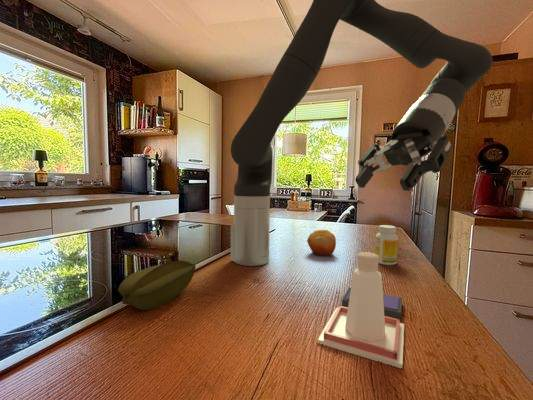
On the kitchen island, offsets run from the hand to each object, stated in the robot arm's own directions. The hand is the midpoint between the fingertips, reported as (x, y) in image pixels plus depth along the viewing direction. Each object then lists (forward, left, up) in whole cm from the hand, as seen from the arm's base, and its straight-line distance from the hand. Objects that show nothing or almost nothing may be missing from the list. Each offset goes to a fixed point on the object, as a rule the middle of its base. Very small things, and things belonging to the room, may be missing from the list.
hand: (379, 185), depth 45 cm
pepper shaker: (0, -10, -20) cm, 23 cm away
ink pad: (0, 0, -21) cm, 21 cm away
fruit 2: (-17, +27, -21) cm, 38 cm away
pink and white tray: (0, -10, -21) cm, 23 cm away
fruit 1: (-33, -16, -21) cm, 43 cm away
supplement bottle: (0, +28, -21) cm, 35 cm away
